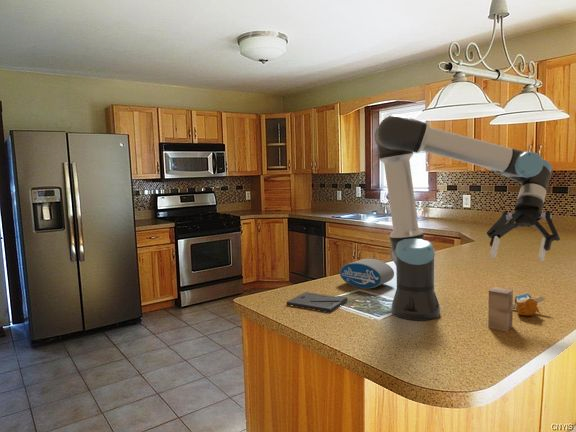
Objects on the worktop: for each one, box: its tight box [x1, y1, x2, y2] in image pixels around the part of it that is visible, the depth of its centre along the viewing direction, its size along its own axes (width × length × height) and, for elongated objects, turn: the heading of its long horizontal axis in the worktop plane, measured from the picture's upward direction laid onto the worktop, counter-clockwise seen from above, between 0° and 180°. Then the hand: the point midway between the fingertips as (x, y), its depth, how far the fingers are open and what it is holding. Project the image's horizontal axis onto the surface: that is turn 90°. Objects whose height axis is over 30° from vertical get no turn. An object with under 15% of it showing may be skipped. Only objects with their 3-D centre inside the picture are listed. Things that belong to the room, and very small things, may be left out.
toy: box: [513, 292, 546, 317], centre depth 131 cm, size 12×6×15 cm
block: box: [487, 286, 514, 332], centre depth 119 cm, size 5×5×11 cm
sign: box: [339, 258, 395, 289], centre depth 169 cm, size 20×10×10 cm, turn 47°
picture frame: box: [286, 291, 349, 313], centre depth 148 cm, size 13×2×18 cm
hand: (515, 257), depth 125 cm, fingers open, 13 cm apart
